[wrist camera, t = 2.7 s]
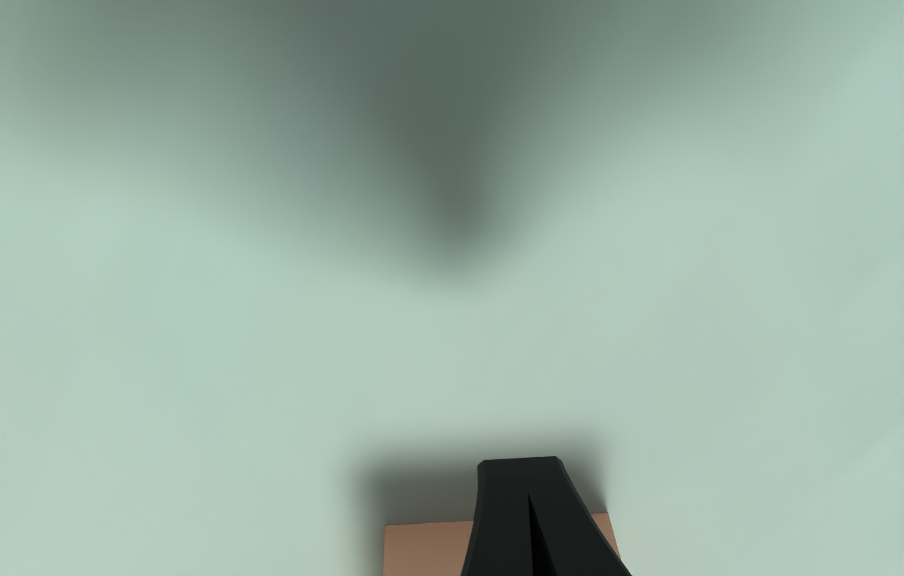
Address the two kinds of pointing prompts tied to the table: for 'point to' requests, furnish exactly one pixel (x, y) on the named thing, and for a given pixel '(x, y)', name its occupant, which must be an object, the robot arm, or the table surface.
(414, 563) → the terracotta block
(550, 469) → the robot arm
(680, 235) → the table surface
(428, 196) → the table surface
